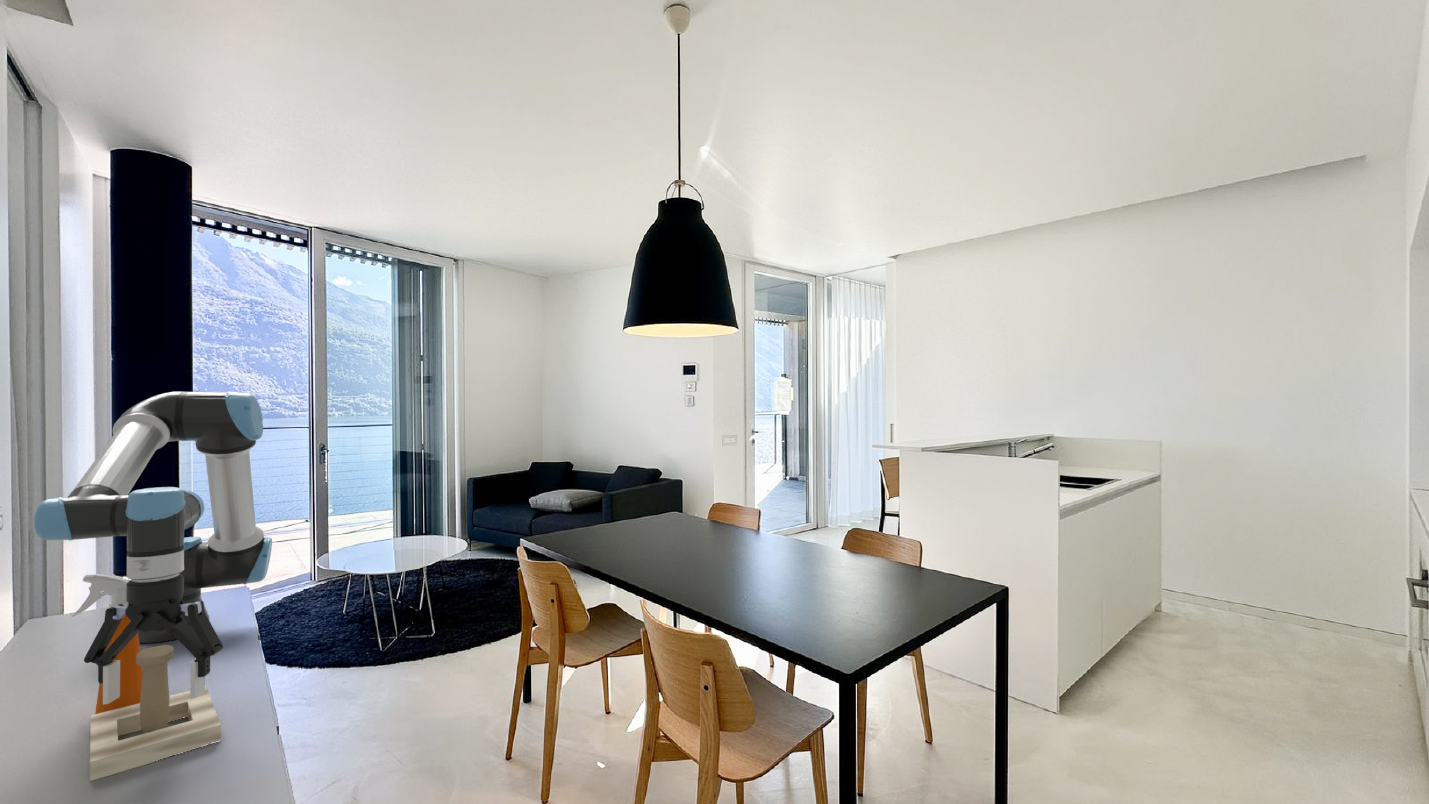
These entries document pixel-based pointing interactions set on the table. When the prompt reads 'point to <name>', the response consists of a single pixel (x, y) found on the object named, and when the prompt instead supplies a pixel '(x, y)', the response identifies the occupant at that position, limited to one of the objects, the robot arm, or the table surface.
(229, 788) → the table surface
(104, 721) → the board
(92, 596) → the spray bottle
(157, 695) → the handle
